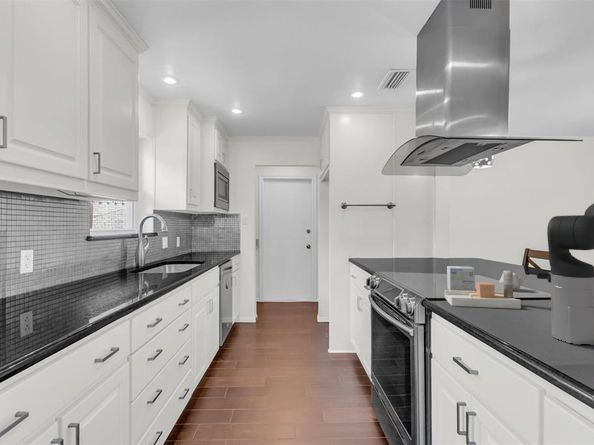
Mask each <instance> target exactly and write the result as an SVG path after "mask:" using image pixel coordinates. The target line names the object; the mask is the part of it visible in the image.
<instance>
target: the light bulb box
mask: <svg viewBox="0 0 594 445" xmlns="http://www.w3.org/2000/svg"><path fill="white" fill-rule="evenodd" d="M446 275H447V276H446V278H447V279H446V280H447V282H446V283H447V286H446V287H447V290H457V291H476V276H475V275H476V274H475V267H472V266H469V265H468V266H467V265H466V266H465V265H464V266H463V265H462V266H461V265H460V266H459V265H457V266H455V265H454V266H453V265H452V266H451V265H450V266H449V265H447V266H446Z"/></svg>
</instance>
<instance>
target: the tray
mask: <svg viewBox="0 0 594 445" xmlns="http://www.w3.org/2000/svg"><path fill="white" fill-rule="evenodd" d="M469 293H476V290H475V291H457V290H449V289H445V290H444V299H445V300H446V301H447V302H448V303H449V304H450V305H451V306H452V307H466V308H467V307H471V308H472V307H473V308H491V309H492V308H494V309H495V308H497V309H515V310H516V309H519V310H520V309H522V302H521V299H517V298H515V299H492V298H472V297H470V296H469ZM495 294H504V291H495Z"/></svg>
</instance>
